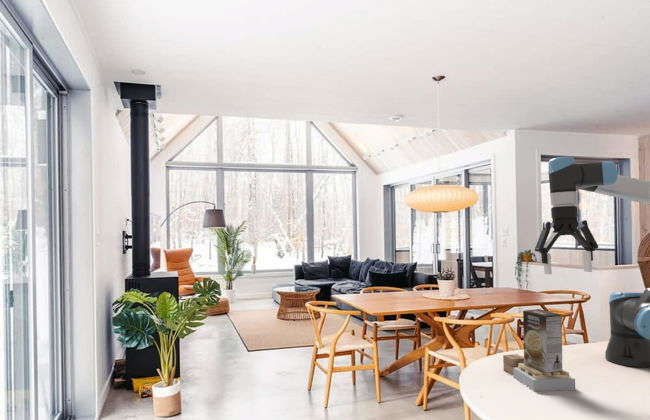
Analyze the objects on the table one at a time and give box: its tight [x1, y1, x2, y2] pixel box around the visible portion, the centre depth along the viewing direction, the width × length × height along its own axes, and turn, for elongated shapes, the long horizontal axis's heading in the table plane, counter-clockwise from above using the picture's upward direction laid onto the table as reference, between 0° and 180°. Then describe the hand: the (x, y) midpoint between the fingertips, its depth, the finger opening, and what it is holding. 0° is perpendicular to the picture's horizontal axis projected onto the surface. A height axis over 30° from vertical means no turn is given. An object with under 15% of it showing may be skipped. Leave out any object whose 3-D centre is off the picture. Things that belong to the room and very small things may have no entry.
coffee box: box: [522, 308, 563, 373], centre depth 140 cm, size 9×6×16 cm
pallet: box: [518, 363, 570, 379], centre depth 140 cm, size 10×10×2 cm
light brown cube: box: [502, 353, 524, 376], centre depth 150 cm, size 5×5×5 cm
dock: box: [513, 367, 576, 392], centre depth 140 cm, size 12×12×3 cm
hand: (568, 273), depth 153 cm, fingers open, 13 cm apart
